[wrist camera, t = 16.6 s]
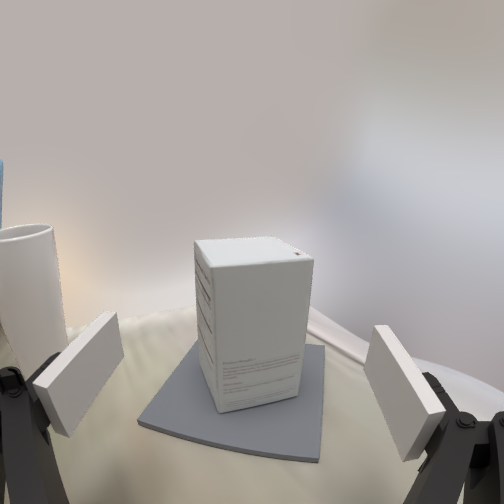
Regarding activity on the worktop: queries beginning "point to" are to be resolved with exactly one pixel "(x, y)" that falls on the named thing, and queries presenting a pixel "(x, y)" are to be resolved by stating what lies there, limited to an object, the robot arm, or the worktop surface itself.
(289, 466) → the worktop surface
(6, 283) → the drinking glass
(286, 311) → the supplement box
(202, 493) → the worktop surface
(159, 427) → the rubber mat
